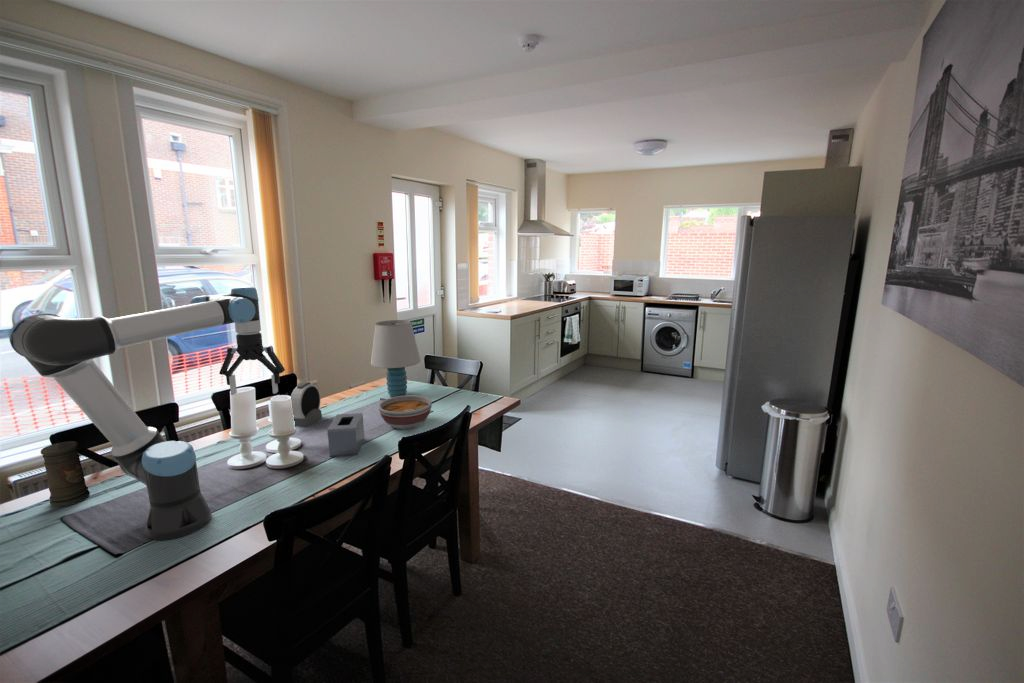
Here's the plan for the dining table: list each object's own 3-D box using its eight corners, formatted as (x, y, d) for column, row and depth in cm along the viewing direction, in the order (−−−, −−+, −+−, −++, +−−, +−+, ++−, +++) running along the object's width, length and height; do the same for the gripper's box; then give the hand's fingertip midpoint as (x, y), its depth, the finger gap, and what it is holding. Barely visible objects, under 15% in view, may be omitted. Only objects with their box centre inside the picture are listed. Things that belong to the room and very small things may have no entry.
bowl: (437, 429, 200) (436, 407, 198) (383, 438, 192) (381, 415, 190) (426, 412, 221) (426, 392, 219) (377, 419, 213) (375, 398, 211)
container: (43, 509, 141) (30, 454, 138) (62, 494, 150) (51, 442, 146) (79, 504, 143) (67, 450, 140) (96, 490, 152) (85, 438, 148)
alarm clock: (307, 428, 203) (303, 388, 199) (286, 427, 204) (281, 387, 201) (327, 415, 218) (324, 378, 215) (307, 414, 220) (303, 377, 216)
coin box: (364, 438, 192) (362, 413, 190) (357, 455, 176) (355, 427, 174) (339, 439, 191) (337, 414, 188) (329, 457, 175) (327, 429, 173)
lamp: (407, 385, 265) (404, 317, 257) (430, 396, 246) (427, 322, 238) (365, 394, 249) (359, 322, 241) (385, 406, 230) (380, 328, 222)
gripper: (291, 330, 162) (296, 389, 166) (214, 331, 159) (221, 391, 163) (283, 333, 155) (289, 395, 159) (203, 335, 152) (210, 397, 156)
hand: (254, 393), depth 161 cm, fingers open, 13 cm apart
